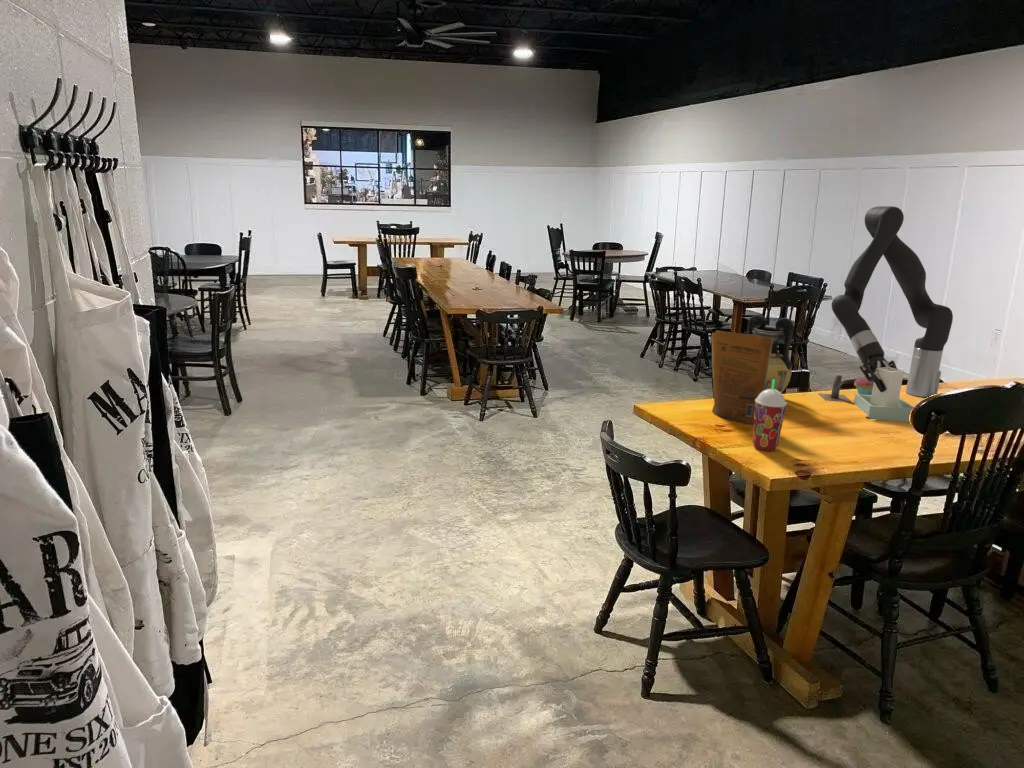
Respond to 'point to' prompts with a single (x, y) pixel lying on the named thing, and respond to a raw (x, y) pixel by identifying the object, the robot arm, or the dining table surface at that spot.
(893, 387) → the sleeve
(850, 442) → the dining table surface
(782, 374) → the amphora
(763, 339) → the pancake mix bag
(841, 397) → the base
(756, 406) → the smoothie
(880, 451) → the dining table surface
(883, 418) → the tray
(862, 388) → the cupcake
